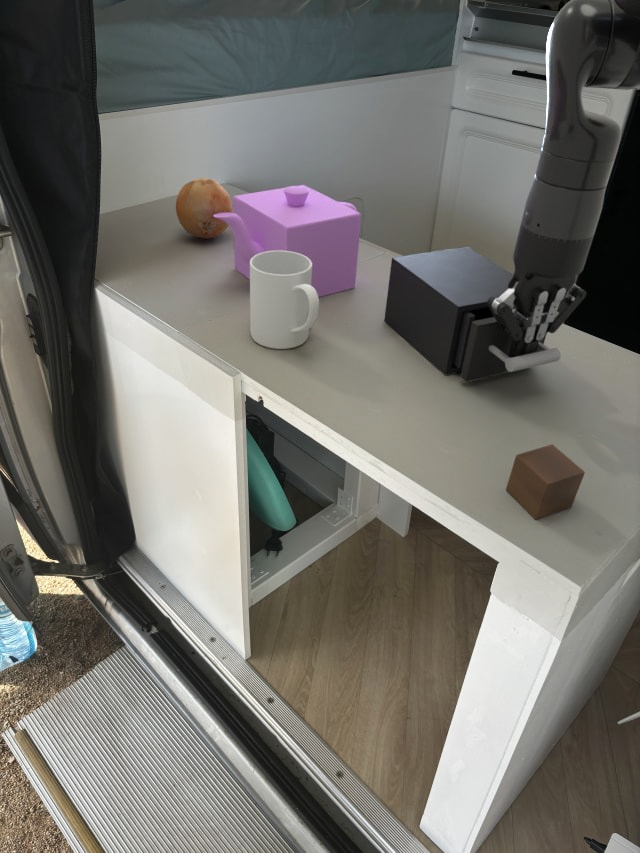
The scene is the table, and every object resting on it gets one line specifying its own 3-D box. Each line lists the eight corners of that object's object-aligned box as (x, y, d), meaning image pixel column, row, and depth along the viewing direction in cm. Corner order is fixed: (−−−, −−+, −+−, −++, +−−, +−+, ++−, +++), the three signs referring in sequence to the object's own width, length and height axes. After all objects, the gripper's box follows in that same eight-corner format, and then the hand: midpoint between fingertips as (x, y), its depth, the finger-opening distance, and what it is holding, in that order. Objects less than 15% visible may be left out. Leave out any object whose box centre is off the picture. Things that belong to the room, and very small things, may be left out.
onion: (223, 224, 122) (221, 168, 116) (240, 243, 115) (239, 185, 109) (172, 229, 118) (167, 172, 112) (186, 249, 111) (182, 189, 105)
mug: (240, 329, 90) (238, 256, 83) (289, 317, 93) (291, 246, 87) (286, 371, 82) (288, 294, 76) (337, 355, 85) (343, 280, 79)
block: (540, 478, 68) (552, 443, 65) (571, 507, 64) (585, 472, 62) (505, 490, 66) (515, 454, 63) (535, 520, 63) (547, 484, 60)
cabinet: (523, 357, 88) (541, 291, 82) (445, 375, 83) (458, 306, 77) (456, 307, 99) (468, 246, 93) (383, 321, 94) (391, 257, 88)
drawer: (564, 385, 81) (583, 329, 76) (490, 403, 77) (505, 346, 72) (471, 315, 95) (482, 265, 90) (404, 328, 91) (411, 275, 86)
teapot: (194, 277, 102) (188, 186, 94) (324, 249, 114) (329, 166, 106) (242, 317, 93) (240, 219, 84) (379, 281, 105) (389, 192, 96)
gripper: (532, 244, 64) (494, 391, 74) (631, 229, 69) (582, 369, 79) (485, 218, 69) (456, 359, 79) (580, 206, 74) (541, 340, 84)
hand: (519, 364), depth 79 cm, fingers closed
